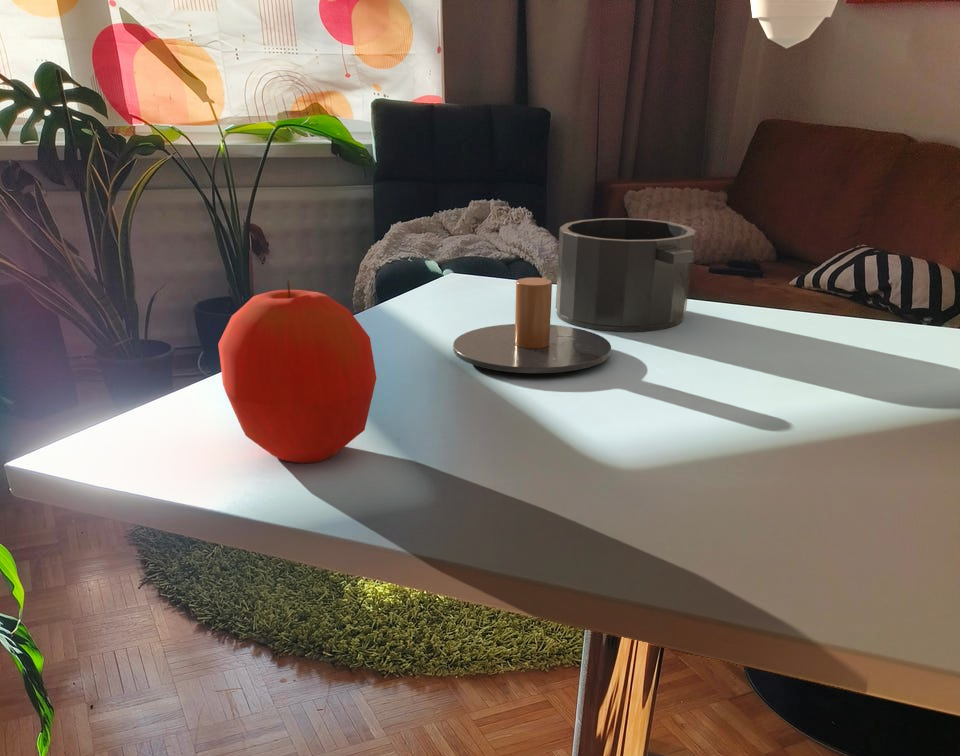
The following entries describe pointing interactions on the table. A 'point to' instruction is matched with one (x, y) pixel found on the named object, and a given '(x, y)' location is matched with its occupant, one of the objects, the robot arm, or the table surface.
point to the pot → (624, 273)
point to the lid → (532, 338)
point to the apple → (298, 373)
